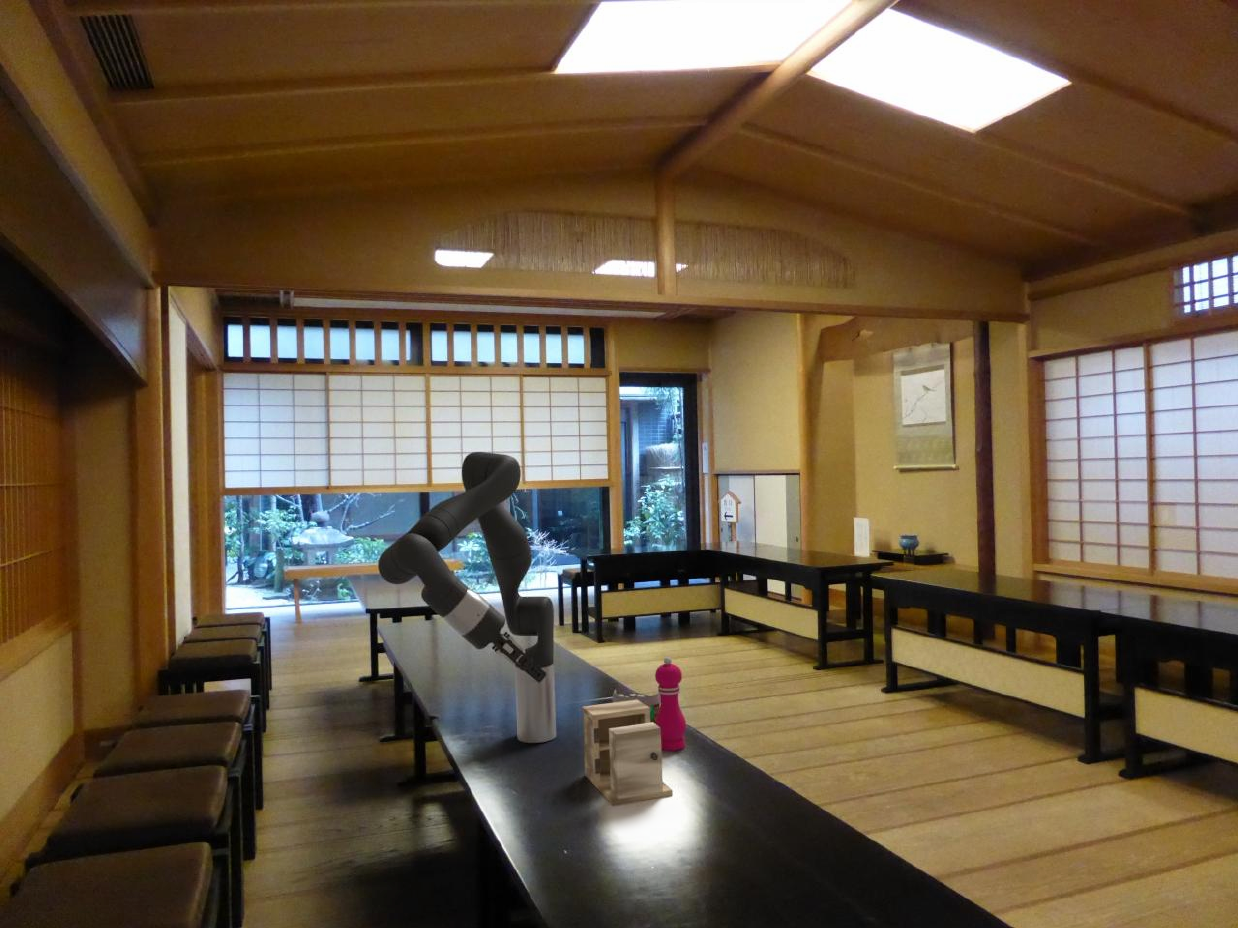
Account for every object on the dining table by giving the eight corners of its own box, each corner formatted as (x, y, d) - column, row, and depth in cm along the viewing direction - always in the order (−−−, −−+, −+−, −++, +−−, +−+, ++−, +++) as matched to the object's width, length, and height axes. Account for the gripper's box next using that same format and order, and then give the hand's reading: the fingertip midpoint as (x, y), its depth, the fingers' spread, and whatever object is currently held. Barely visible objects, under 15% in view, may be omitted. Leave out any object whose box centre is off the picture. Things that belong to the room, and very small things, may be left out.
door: (611, 791, 158) (608, 728, 158) (654, 784, 161) (652, 722, 161) (620, 801, 153) (617, 735, 153) (665, 793, 156) (662, 729, 156)
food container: (605, 738, 194) (603, 695, 194) (615, 731, 199) (613, 689, 199) (655, 743, 189) (653, 699, 189) (663, 735, 195) (662, 692, 195)
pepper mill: (685, 752, 182) (681, 660, 182) (652, 751, 183) (649, 660, 184) (689, 741, 189) (685, 653, 189) (657, 740, 191) (654, 653, 191)
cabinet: (585, 775, 170) (582, 706, 170) (639, 766, 174) (637, 699, 174) (613, 805, 154) (610, 729, 154) (672, 795, 158) (669, 721, 158)
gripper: (495, 607, 145) (560, 665, 149) (480, 596, 159) (540, 649, 163) (465, 641, 144) (533, 698, 147) (453, 627, 157) (515, 680, 161)
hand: (537, 673), depth 155 cm, fingers open, 8 cm apart
